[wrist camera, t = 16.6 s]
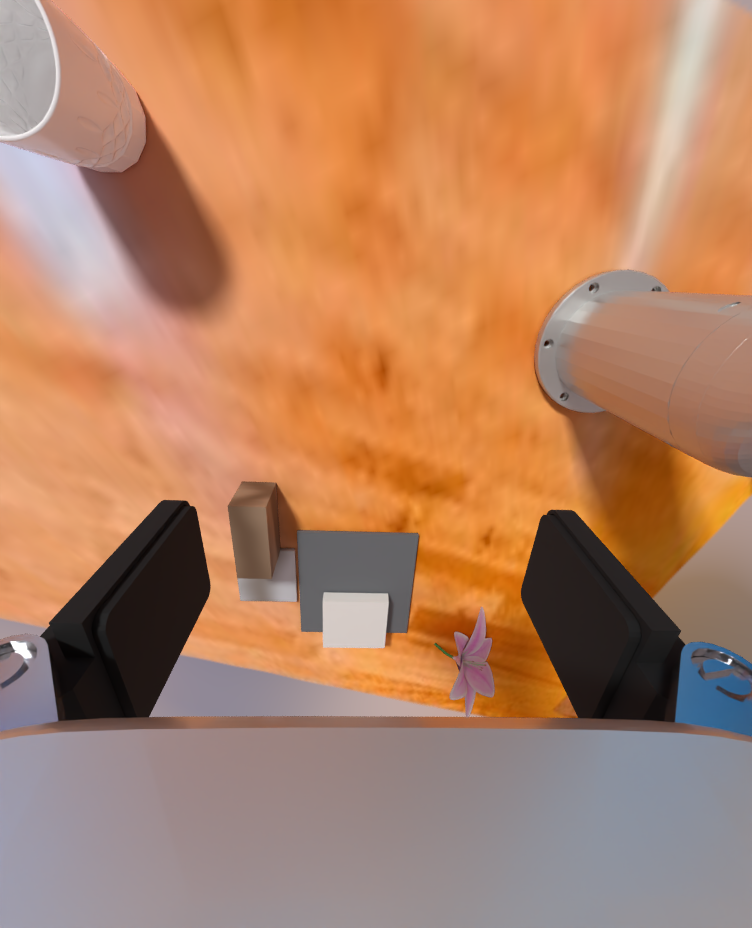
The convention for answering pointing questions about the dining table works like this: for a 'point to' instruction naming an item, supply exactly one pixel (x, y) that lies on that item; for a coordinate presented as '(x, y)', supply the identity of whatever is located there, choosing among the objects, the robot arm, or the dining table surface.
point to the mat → (356, 571)
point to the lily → (472, 665)
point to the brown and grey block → (260, 545)
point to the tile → (355, 620)
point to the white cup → (64, 92)
